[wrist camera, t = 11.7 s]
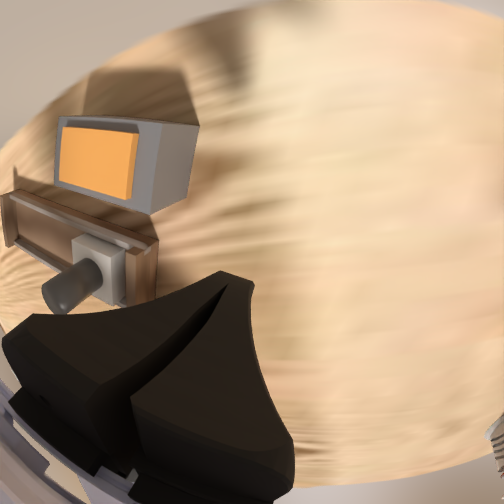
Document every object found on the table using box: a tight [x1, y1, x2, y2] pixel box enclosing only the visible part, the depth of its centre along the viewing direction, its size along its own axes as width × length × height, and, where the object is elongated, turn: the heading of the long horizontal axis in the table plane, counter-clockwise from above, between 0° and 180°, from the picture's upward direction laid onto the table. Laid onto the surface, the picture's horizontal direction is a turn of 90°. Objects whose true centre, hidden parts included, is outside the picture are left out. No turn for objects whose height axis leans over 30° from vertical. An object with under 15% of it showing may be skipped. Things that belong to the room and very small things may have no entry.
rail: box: [0, 189, 159, 308], centre depth 24 cm, size 7×24×3 cm, turn 76°
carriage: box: [42, 233, 125, 315], centre depth 20 cm, size 5×5×7 cm
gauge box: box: [54, 115, 200, 215], centre depth 18 cm, size 6×10×5 cm, turn 76°
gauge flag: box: [59, 127, 139, 200], centre depth 15 cm, size 4×7×1 cm, turn 76°
